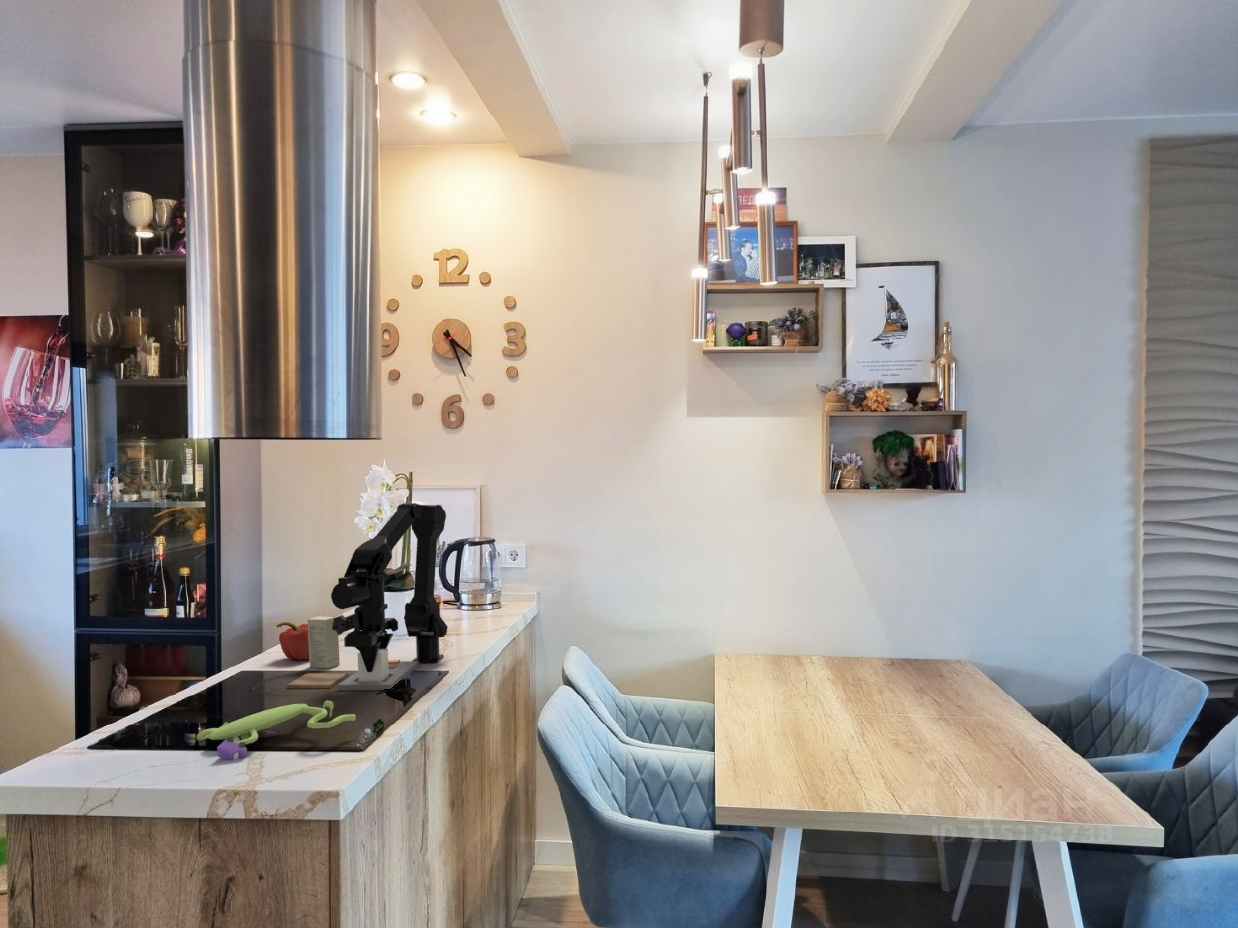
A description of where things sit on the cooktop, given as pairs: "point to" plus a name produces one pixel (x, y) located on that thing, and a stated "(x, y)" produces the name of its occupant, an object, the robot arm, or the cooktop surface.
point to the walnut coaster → (318, 680)
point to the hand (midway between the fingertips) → (373, 669)
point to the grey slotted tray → (396, 673)
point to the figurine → (264, 727)
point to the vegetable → (295, 641)
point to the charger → (379, 669)
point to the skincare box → (323, 642)
